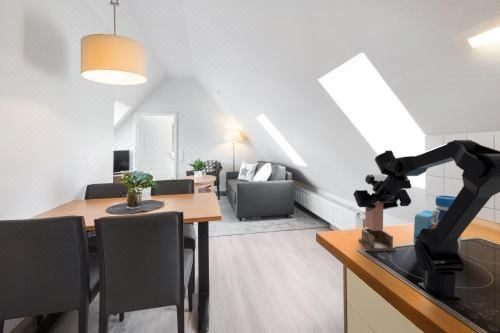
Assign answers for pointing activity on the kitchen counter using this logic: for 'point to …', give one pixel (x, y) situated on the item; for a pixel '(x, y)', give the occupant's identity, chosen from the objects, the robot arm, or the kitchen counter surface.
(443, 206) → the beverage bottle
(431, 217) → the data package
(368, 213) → the pink tall block
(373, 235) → the book rack
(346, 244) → the kitchen counter surface
